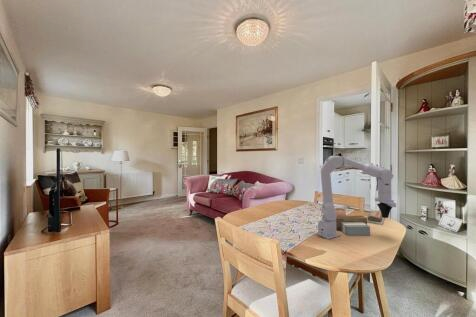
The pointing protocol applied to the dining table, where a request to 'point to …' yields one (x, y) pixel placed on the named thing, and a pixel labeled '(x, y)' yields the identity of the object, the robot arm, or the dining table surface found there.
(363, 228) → the carton
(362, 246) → the dining table surface
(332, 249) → the dining table surface
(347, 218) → the display podium
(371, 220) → the packaged product
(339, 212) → the plant pot
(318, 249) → the dining table surface
